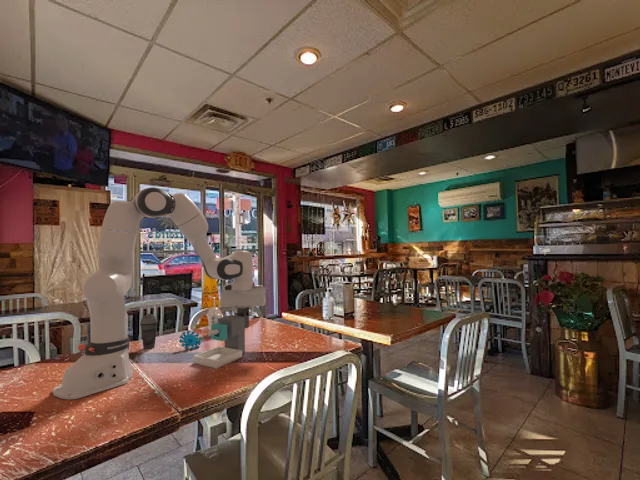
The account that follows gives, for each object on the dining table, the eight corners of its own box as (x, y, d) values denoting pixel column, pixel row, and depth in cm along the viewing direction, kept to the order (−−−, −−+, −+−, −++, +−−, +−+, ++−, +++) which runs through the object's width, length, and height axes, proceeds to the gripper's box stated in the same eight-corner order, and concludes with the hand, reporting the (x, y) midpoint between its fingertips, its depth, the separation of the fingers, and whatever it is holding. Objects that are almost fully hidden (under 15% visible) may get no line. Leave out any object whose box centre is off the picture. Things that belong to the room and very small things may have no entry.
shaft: (212, 339, 124) (212, 316, 124) (205, 338, 126) (205, 315, 126) (248, 327, 143) (248, 307, 143) (242, 326, 145) (242, 306, 145)
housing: (231, 359, 131) (231, 320, 131) (217, 356, 134) (217, 318, 135) (244, 353, 138) (244, 316, 138) (231, 350, 141) (231, 314, 142)
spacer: (221, 341, 127) (221, 326, 127) (211, 339, 130) (211, 324, 130) (227, 339, 130) (227, 324, 130) (216, 337, 133) (216, 323, 133)
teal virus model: (182, 349, 139) (178, 330, 144) (177, 356, 141) (173, 337, 147) (206, 346, 146) (201, 328, 152) (201, 354, 149) (196, 336, 155)
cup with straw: (207, 336, 164) (207, 297, 165) (204, 332, 172) (204, 295, 173) (223, 333, 168) (223, 296, 169) (220, 330, 176) (220, 294, 177)
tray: (216, 369, 120) (216, 361, 120) (193, 363, 126) (193, 355, 126) (242, 357, 132) (242, 350, 133) (219, 352, 139) (219, 345, 139)
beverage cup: (150, 350, 142) (150, 306, 142) (136, 350, 143) (136, 306, 143) (161, 345, 149) (161, 303, 149) (147, 345, 150) (147, 303, 150)
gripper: (267, 284, 146) (267, 314, 146) (223, 284, 146) (223, 314, 146) (264, 286, 140) (265, 317, 140) (218, 286, 140) (218, 317, 140)
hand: (243, 316), depth 143 cm, fingers closed on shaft, 5 cm apart
